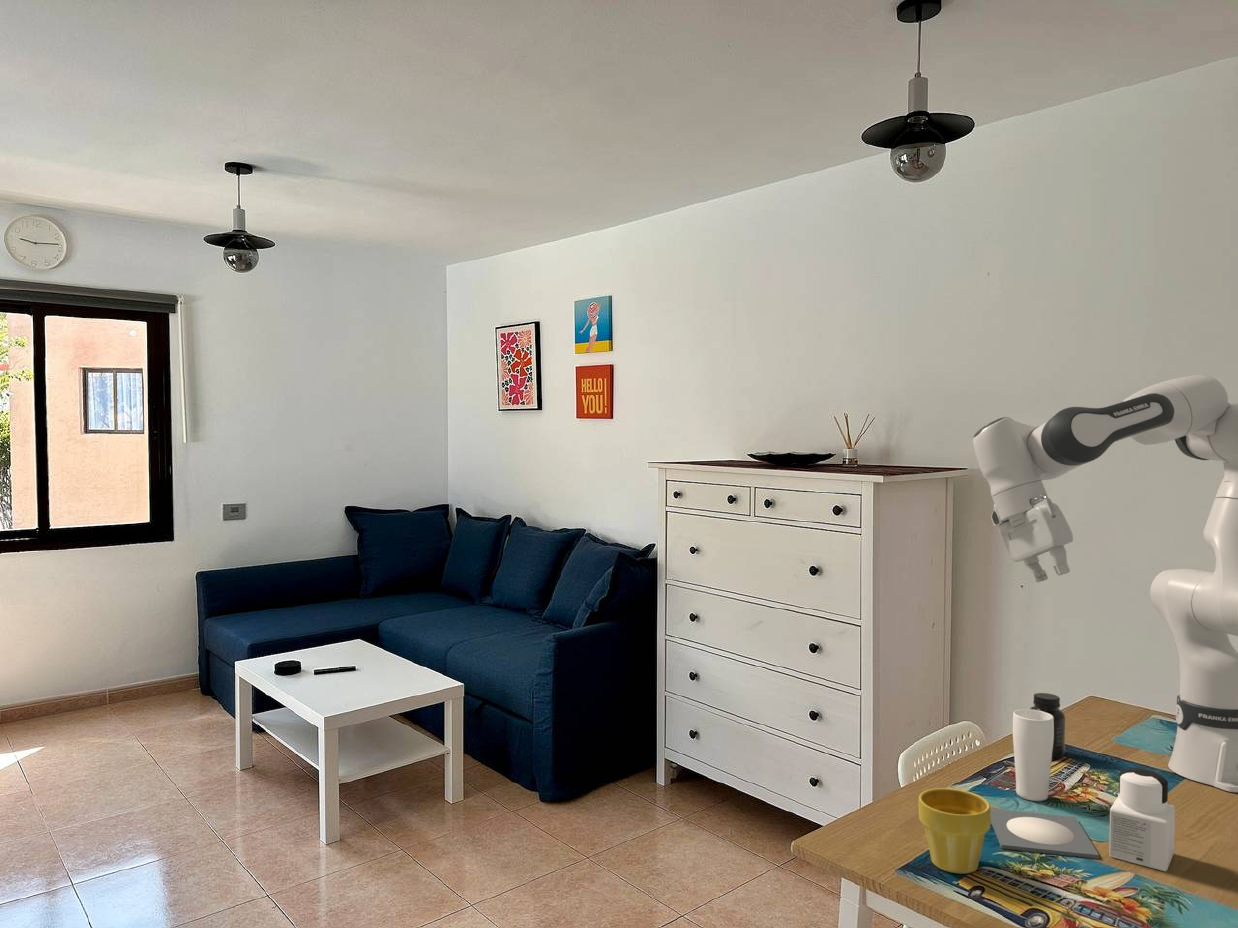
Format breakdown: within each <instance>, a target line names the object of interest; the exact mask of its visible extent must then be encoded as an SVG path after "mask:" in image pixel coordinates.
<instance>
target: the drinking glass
mask: <svg viewBox="0 0 1238 928" xmlns="http://www.w3.org/2000/svg"><path fill="white" fill-rule="evenodd" d="M1012 715H1013V716H1012V745H1013V756H1014V757H1013V759H1014V772H1015V792H1016V793H1015V794H1016V795H1018V796H1019V797H1020V798H1022V799H1024V800H1027V801H1030V802H1031V801H1032V802H1042V801H1046V800H1047V799H1048V798H1049V790H1050V789H1049V788H1050V777H1051V770H1052V769H1051V767H1052V760H1053V759H1052V751H1053V742H1054V717H1053V716H1052V715H1051V714H1049V713H1046V712H1043V711H1039V710H1032V709H1030V708H1020V709H1016V710H1014V711H1013V714H1012Z"/></svg>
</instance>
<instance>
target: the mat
mask: <svg viewBox="0 0 1238 928" xmlns="http://www.w3.org/2000/svg"><path fill="white" fill-rule="evenodd" d="M990 809H991V822H990V824H991V825H992V828H993V830H994V833H995V835H996V838H997V841H998V843H999V845H1000V848H1001V849H1002V850H1005V849H1006V850H1012V851H1013V850H1014V851H1020V852H1021V851H1022V852H1030V853H1040V854H1049V855H1059V856H1067V857H1076V856H1078V858H1088V859H1096V860H1099V859H1100V854H1099V853H1098V851H1097V849H1096V848H1095V845H1094V844H1093V843H1092V842H1091V840H1090V839H1089V837H1088V834H1086V832H1085V830H1084V828H1083V827H1082V826H1081V824H1080V822H1079V821H1078V819H1077V816H1069V815H1060V814H1050V813H1039V812H1028V811H1017V810H1009V809H1000V808H999V809H997V808H990Z"/></svg>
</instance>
